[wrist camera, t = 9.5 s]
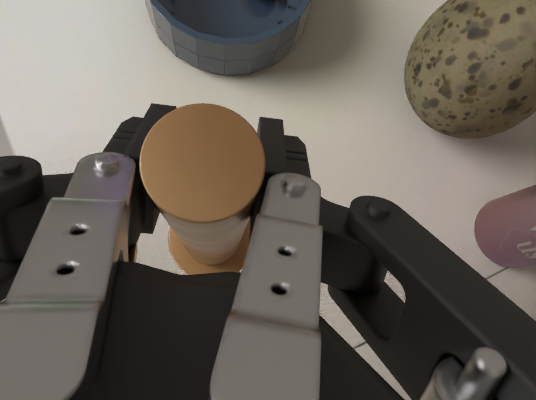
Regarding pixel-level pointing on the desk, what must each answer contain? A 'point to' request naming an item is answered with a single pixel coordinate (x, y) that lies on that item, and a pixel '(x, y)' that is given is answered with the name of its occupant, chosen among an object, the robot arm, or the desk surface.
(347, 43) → the desk surface
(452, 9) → the decorative egg
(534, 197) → the beverage can
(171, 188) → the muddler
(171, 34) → the bowl
